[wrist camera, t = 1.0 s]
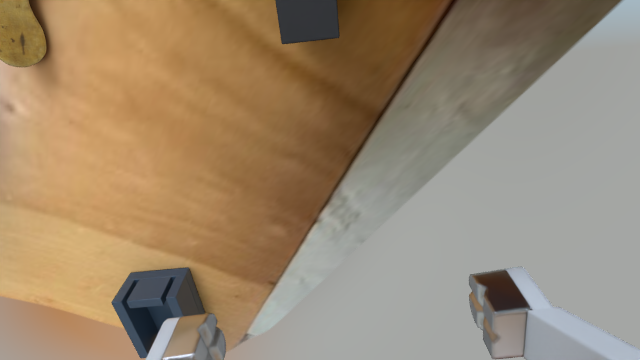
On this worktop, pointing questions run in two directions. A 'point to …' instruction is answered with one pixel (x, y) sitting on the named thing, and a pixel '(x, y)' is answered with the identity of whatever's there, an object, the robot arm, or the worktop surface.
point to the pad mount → (155, 303)
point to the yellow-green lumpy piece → (20, 34)
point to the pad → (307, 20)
